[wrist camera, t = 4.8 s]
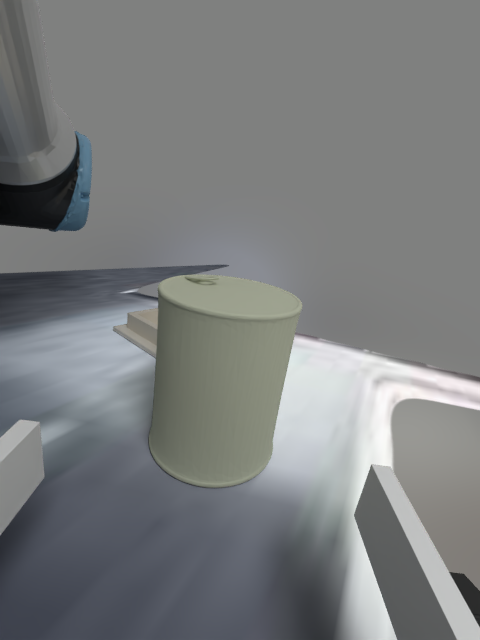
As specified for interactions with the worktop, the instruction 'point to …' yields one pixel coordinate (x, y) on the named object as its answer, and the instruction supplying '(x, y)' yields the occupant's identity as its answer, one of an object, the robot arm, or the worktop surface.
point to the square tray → (141, 329)
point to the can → (219, 376)
